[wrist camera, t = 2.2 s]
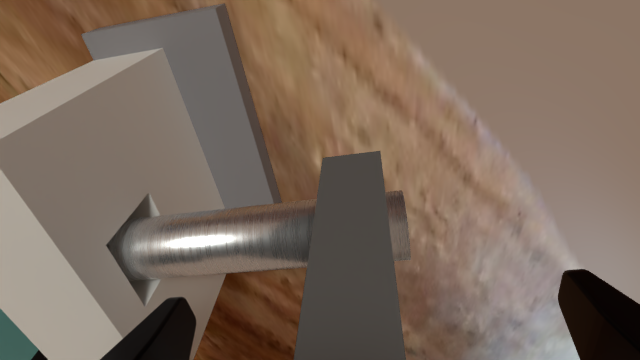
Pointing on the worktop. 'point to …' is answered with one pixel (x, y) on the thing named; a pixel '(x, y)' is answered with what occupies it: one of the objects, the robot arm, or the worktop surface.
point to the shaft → (298, 255)
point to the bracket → (122, 175)
